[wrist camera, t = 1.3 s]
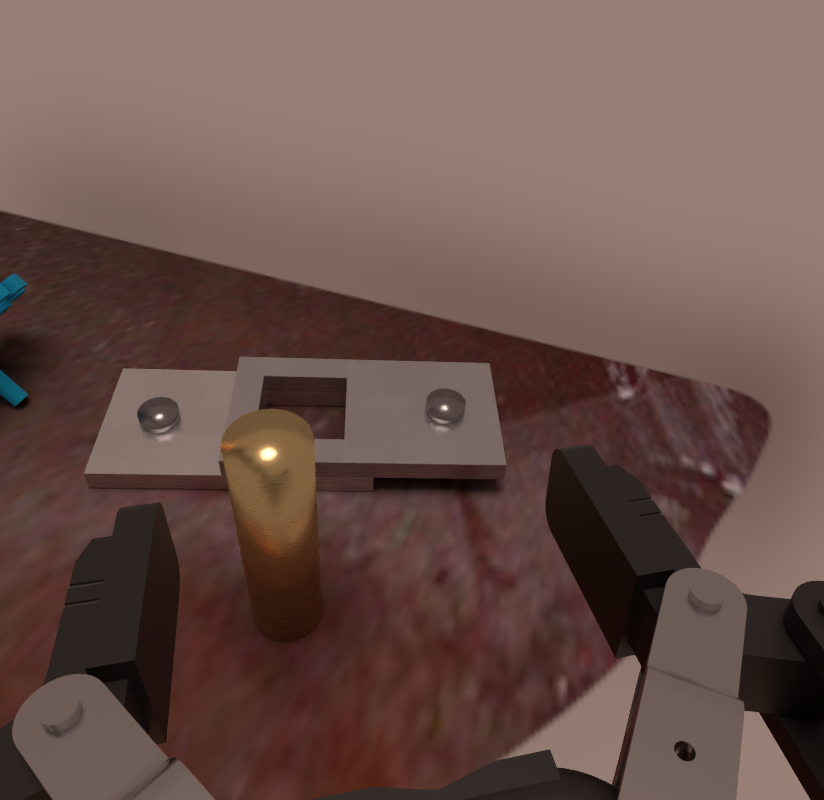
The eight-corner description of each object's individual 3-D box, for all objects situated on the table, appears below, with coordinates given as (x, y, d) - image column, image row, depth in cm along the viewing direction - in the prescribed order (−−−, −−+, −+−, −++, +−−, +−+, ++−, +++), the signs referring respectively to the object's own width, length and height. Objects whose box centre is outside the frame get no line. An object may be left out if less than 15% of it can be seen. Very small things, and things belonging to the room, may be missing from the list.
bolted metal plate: (89, 487, 37) (74, 451, 35) (127, 382, 43) (116, 345, 40) (499, 492, 39) (508, 457, 36) (483, 391, 44) (490, 355, 42)
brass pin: (249, 641, 32) (213, 477, 23) (257, 579, 34) (227, 407, 25) (319, 641, 32) (310, 478, 23) (323, 579, 34) (316, 409, 26)
